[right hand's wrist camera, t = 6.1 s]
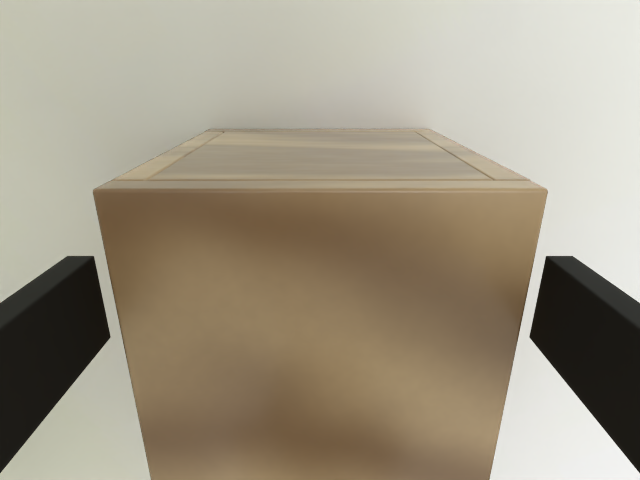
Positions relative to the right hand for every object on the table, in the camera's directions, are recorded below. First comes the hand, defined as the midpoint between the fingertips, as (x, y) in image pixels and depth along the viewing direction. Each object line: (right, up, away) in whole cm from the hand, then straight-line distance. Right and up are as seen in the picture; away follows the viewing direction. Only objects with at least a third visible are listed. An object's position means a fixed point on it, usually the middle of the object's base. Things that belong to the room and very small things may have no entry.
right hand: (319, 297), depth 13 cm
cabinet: (0, -1, +11) cm, 11 cm away
